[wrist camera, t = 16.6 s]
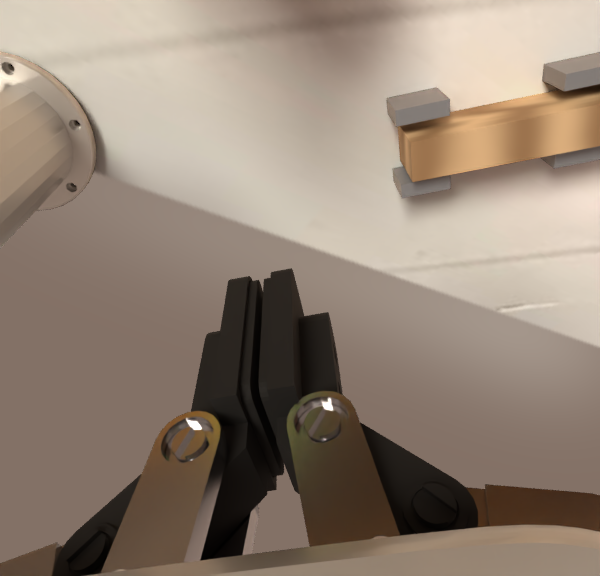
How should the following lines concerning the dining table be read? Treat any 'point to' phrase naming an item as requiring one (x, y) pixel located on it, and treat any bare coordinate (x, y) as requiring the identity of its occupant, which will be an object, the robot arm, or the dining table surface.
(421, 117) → the sleeve
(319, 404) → the robot arm
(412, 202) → the dining table surface
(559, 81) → the grey u-channel holder
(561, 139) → the slat
